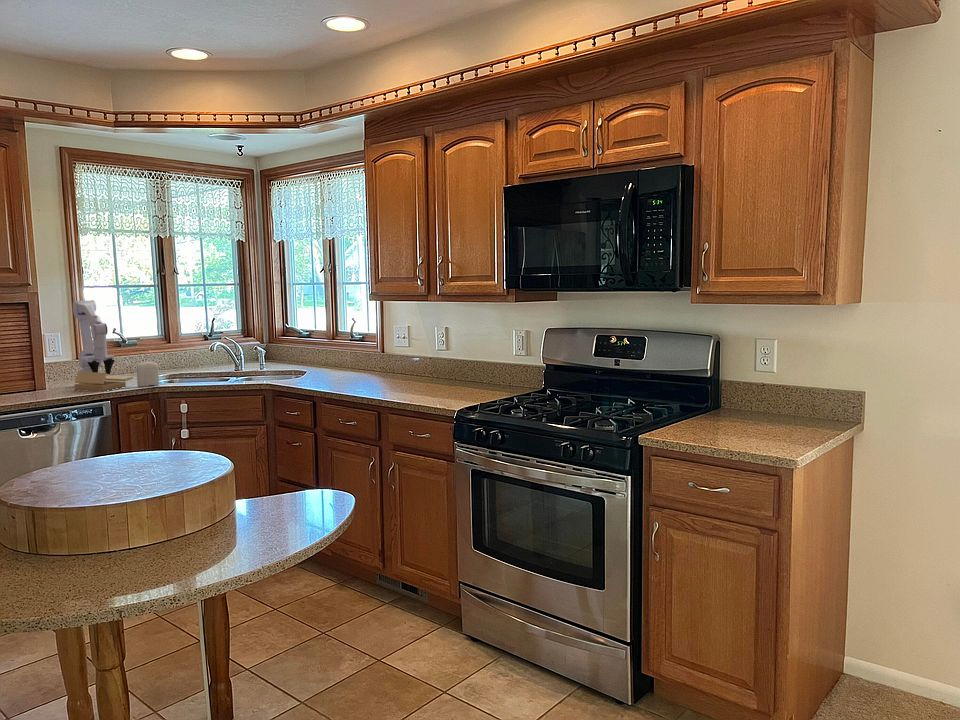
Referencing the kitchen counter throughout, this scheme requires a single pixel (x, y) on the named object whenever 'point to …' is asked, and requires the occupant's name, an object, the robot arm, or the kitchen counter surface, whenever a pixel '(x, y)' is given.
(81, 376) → the front flap
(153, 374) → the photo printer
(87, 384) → the carton
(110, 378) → the back flap
